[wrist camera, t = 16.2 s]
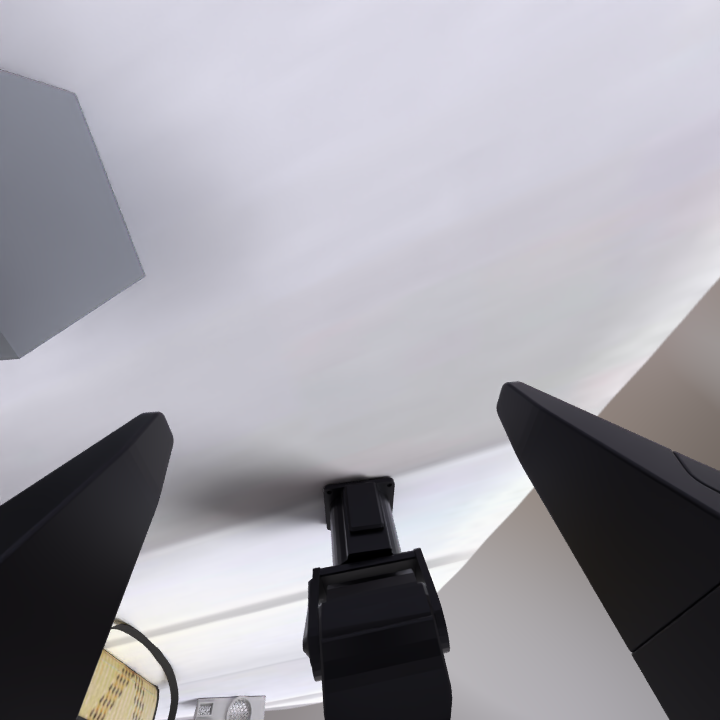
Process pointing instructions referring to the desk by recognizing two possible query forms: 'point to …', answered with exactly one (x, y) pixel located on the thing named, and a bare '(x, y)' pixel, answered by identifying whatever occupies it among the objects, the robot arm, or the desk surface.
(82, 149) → the matte grey cube
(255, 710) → the garden wall model
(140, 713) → the clutch purse
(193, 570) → the desk surface
